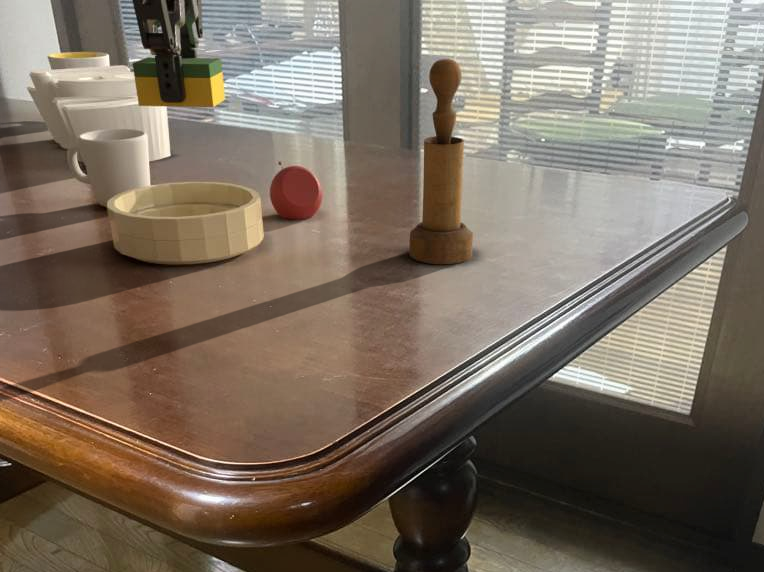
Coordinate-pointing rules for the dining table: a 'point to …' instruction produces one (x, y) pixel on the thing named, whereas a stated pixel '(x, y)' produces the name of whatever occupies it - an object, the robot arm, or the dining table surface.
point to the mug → (78, 60)
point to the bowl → (186, 222)
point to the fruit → (295, 193)
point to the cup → (111, 161)
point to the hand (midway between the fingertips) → (181, 96)
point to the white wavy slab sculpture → (96, 106)
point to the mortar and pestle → (442, 180)
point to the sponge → (198, 78)
